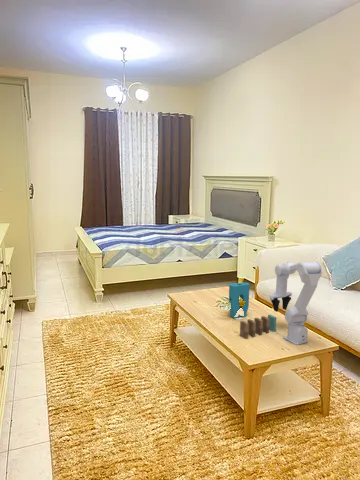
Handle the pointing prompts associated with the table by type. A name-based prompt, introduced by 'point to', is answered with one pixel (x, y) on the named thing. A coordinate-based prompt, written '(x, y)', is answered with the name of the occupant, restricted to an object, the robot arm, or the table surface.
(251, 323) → the walnut domino
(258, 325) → the walnut domino
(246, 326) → the walnut domino
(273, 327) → the teal domino
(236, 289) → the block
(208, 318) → the table surface
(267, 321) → the walnut domino
